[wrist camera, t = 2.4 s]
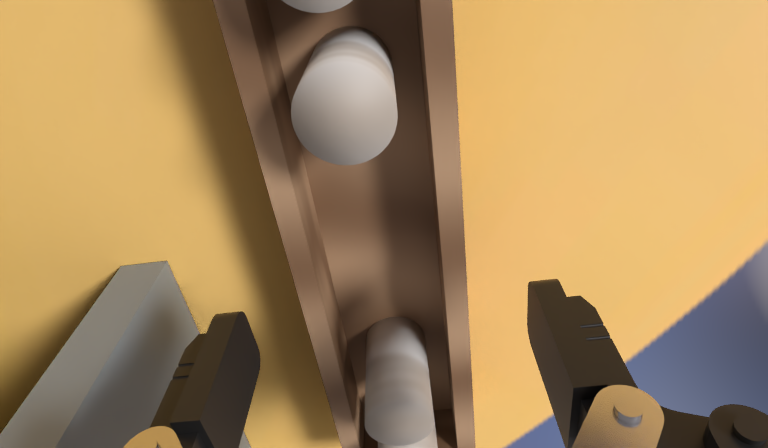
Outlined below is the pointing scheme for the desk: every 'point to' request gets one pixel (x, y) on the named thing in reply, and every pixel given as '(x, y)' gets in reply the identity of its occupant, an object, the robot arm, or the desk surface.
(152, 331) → the grey bridge block
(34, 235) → the desk surface
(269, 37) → the tray
